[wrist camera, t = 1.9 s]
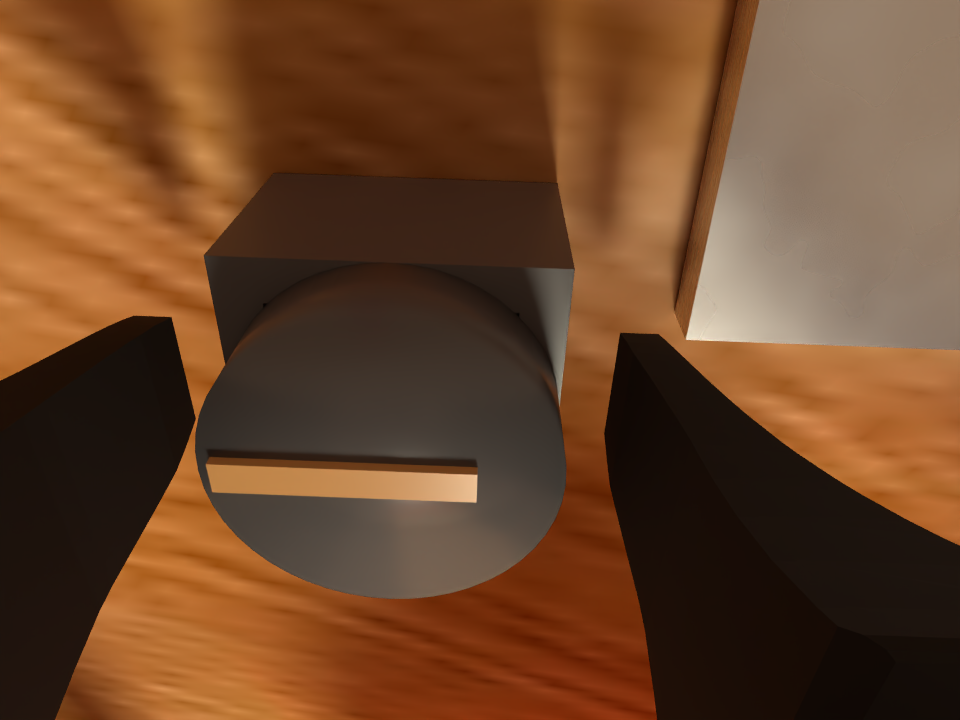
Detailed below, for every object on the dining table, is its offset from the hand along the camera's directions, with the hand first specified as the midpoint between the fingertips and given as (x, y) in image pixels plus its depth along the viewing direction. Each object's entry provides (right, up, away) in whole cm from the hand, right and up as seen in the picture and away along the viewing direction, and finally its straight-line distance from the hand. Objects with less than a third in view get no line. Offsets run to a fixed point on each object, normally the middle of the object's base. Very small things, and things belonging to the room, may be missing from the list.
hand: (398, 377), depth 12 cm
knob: (0, +1, +2) cm, 3 cm away
